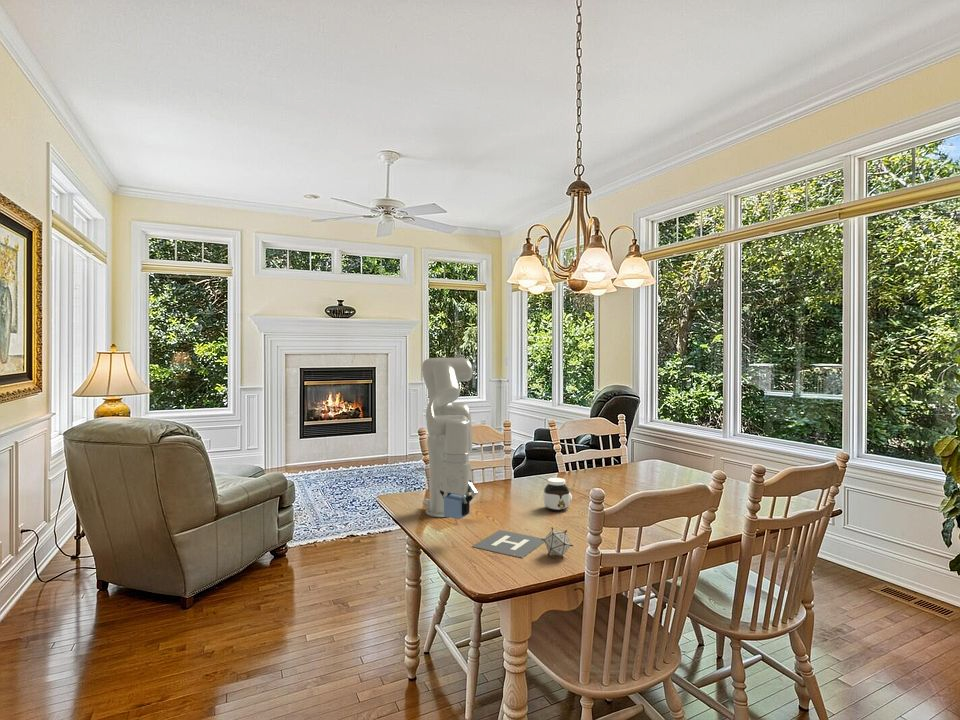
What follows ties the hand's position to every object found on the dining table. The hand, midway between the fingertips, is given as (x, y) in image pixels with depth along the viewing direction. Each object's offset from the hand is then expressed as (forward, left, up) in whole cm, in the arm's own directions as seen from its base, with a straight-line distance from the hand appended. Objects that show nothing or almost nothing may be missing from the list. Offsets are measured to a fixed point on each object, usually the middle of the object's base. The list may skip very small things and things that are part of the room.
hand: (456, 512), depth 171 cm
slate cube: (0, 0, -1) cm, 1 cm away
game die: (+30, +9, -10) cm, 32 cm away
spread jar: (+13, +53, -11) cm, 56 cm away
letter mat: (+15, +9, -10) cm, 20 cm away
